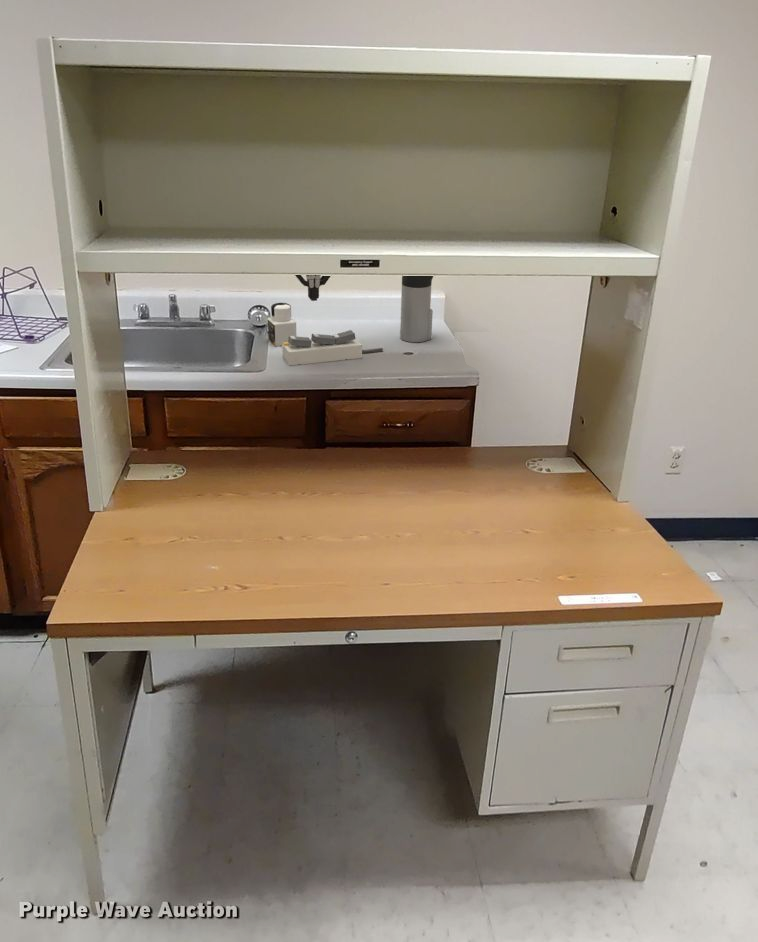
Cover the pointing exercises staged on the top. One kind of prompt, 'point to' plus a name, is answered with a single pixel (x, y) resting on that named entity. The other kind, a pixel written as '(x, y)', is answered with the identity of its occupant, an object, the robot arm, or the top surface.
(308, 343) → the rocker
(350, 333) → the rocker
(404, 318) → the robot arm
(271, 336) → the medicine bottle
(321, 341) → the rocker middle
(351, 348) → the power strip
